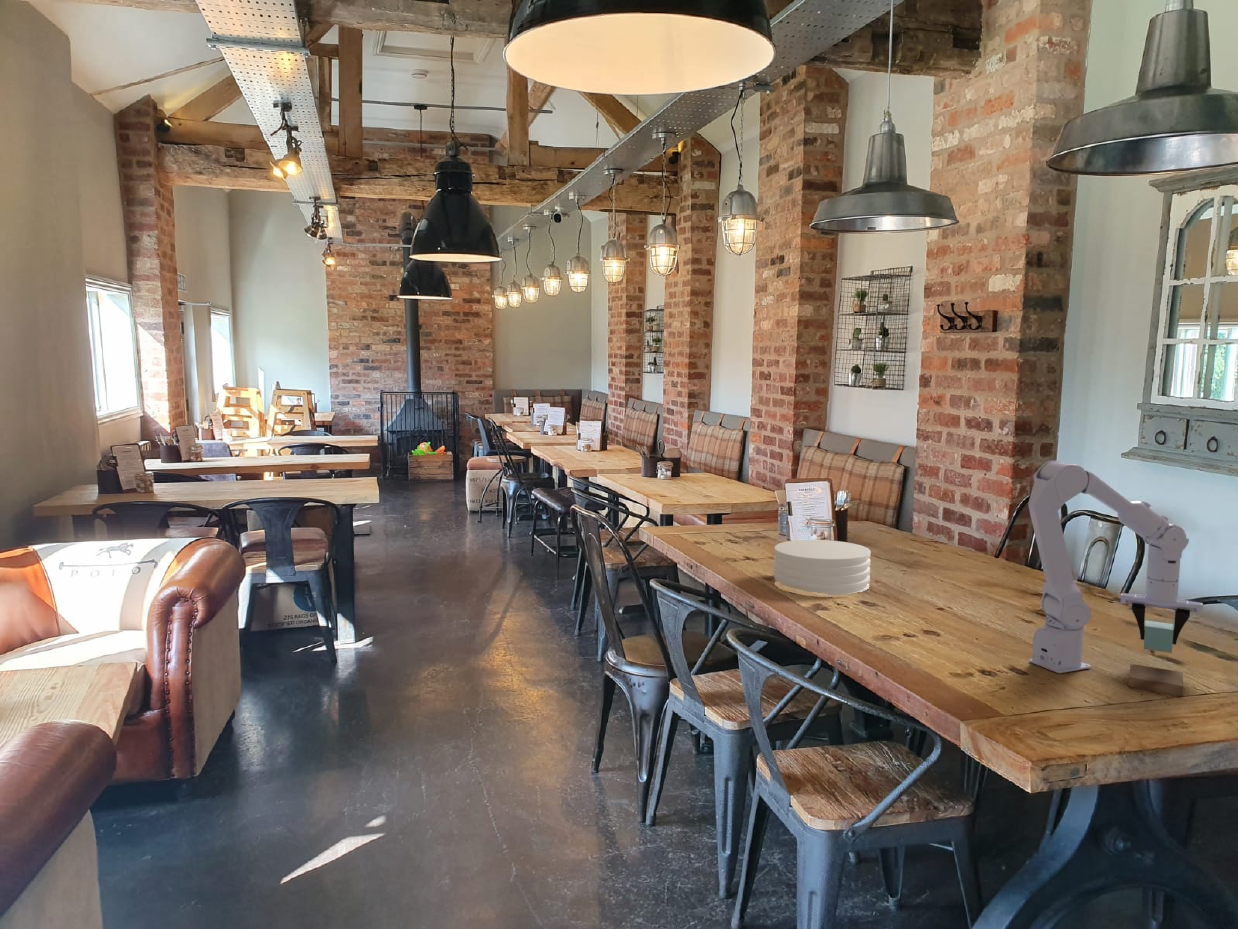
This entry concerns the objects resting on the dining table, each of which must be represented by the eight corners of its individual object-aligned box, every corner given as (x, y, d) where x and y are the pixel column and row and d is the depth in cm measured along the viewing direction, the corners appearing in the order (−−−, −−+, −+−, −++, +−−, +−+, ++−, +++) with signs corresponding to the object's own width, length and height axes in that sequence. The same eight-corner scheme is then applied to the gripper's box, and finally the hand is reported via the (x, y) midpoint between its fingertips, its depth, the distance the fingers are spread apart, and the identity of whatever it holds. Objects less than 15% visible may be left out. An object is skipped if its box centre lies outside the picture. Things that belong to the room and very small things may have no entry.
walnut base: (1128, 686, 163) (1129, 676, 163) (1129, 673, 170) (1130, 663, 170) (1182, 695, 158) (1183, 686, 158) (1181, 681, 165) (1182, 672, 165)
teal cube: (1143, 648, 173) (1145, 626, 172) (1143, 642, 177) (1145, 620, 177) (1171, 653, 170) (1173, 630, 170) (1171, 646, 174) (1173, 624, 174)
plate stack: (834, 604, 224) (835, 563, 223) (754, 585, 245) (755, 548, 244) (888, 587, 243) (889, 549, 241) (810, 570, 264) (810, 536, 262)
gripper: (1203, 579, 171) (1198, 641, 173) (1123, 570, 179) (1119, 630, 181) (1205, 586, 165) (1200, 651, 167) (1121, 577, 173) (1117, 638, 175)
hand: (1158, 640), depth 173 cm, fingers closed on teal cube, 5 cm apart
